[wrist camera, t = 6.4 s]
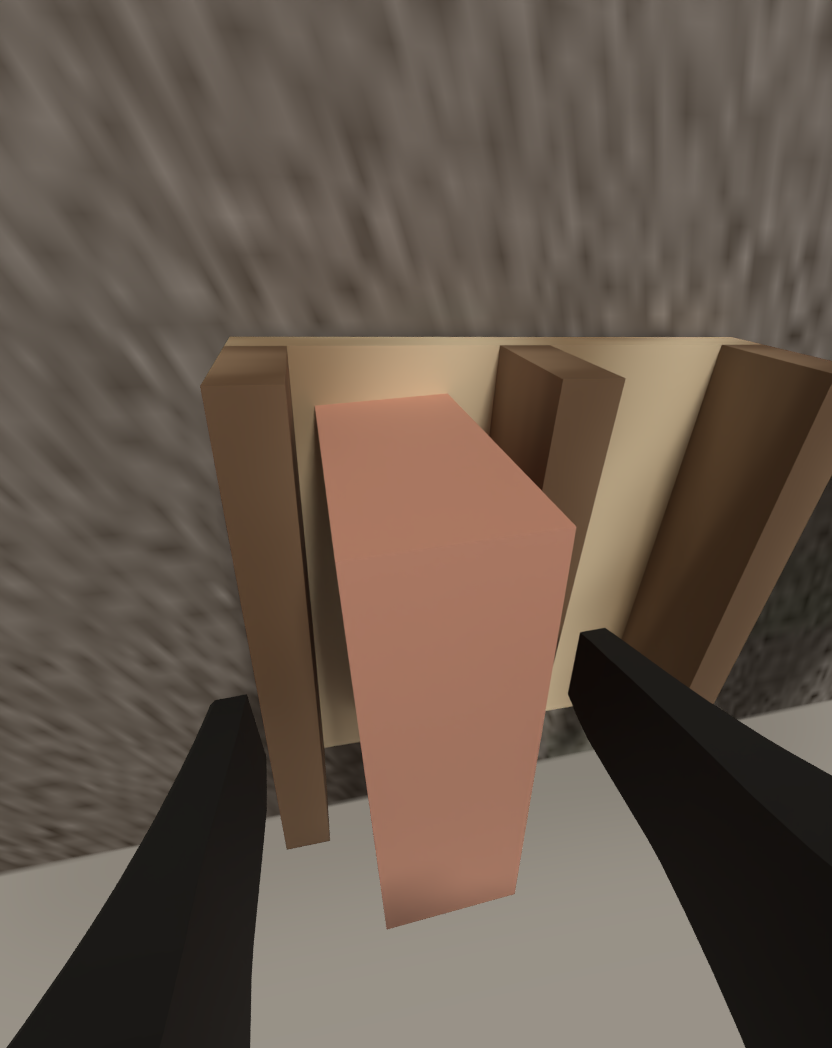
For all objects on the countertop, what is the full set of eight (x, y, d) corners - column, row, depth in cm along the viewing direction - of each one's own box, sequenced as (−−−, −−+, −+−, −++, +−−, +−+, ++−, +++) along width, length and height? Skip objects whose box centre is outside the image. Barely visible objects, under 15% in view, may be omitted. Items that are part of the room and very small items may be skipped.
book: (447, 393, 11) (576, 526, 6) (445, 689, 16) (514, 893, 11) (314, 405, 11) (334, 562, 6) (356, 707, 16) (386, 929, 11)
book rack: (732, 337, 13) (884, 373, 10) (613, 676, 20) (680, 768, 16) (229, 337, 10) (200, 385, 7) (287, 728, 17) (286, 849, 14)
